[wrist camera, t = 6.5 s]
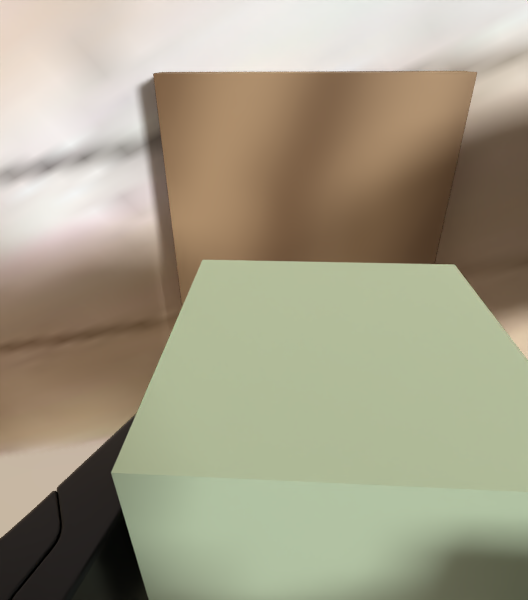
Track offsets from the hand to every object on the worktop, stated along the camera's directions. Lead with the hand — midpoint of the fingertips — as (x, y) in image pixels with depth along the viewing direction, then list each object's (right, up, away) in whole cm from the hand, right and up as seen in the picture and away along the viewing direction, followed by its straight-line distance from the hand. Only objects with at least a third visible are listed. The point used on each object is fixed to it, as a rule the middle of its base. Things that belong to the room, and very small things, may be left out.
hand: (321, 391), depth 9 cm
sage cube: (0, 0, +1) cm, 1 cm away
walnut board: (0, +5, +9) cm, 11 cm away
